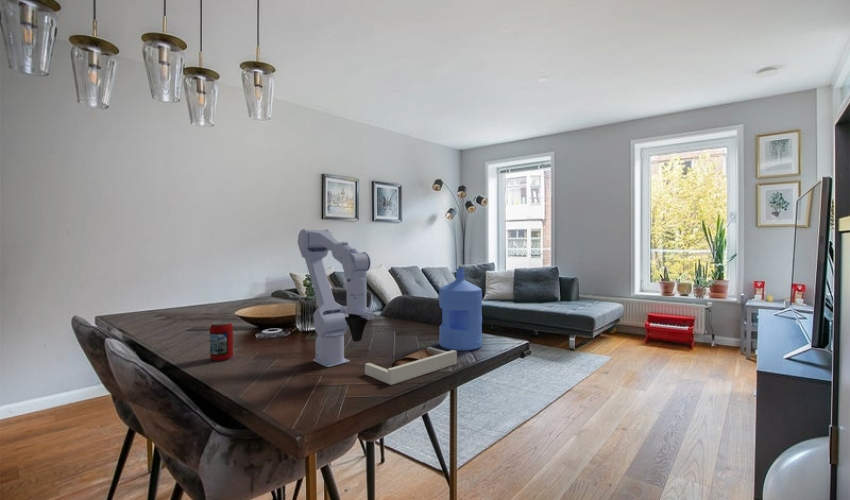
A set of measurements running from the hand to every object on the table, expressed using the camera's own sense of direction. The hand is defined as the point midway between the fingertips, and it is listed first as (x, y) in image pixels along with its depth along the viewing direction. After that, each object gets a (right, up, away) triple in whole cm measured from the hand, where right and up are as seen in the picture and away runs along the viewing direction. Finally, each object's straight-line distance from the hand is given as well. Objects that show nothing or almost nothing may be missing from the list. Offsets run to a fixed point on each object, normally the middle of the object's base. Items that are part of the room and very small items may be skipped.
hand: (357, 340), depth 116 cm
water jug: (+33, -9, +30) cm, 45 cm away
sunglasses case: (+18, -10, +6) cm, 21 cm away
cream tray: (+16, -9, +4) cm, 19 cm away
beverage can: (-47, -10, +15) cm, 50 cm away
